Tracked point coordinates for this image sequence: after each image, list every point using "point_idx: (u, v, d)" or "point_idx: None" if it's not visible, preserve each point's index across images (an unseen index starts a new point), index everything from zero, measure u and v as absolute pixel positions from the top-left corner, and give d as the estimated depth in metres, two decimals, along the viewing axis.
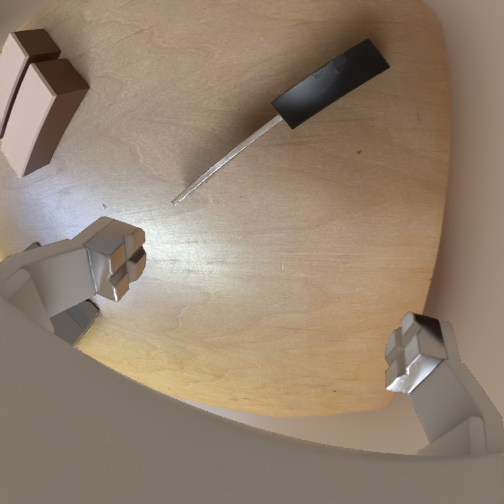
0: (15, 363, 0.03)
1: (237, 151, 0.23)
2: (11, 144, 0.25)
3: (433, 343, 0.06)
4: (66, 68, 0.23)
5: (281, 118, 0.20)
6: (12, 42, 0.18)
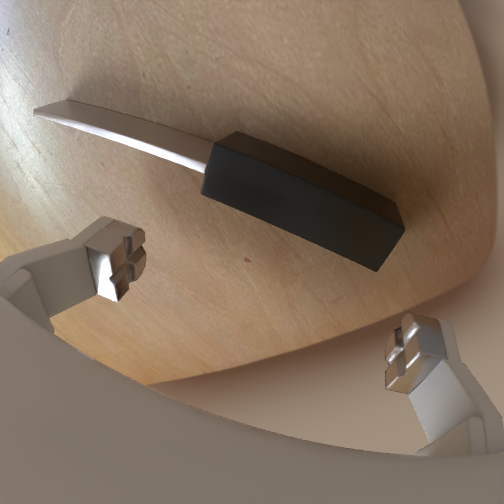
0: (15, 363, 0.03)
1: (124, 142, 0.13)
2: None
3: (433, 343, 0.06)
4: None
5: (203, 171, 0.13)
6: None
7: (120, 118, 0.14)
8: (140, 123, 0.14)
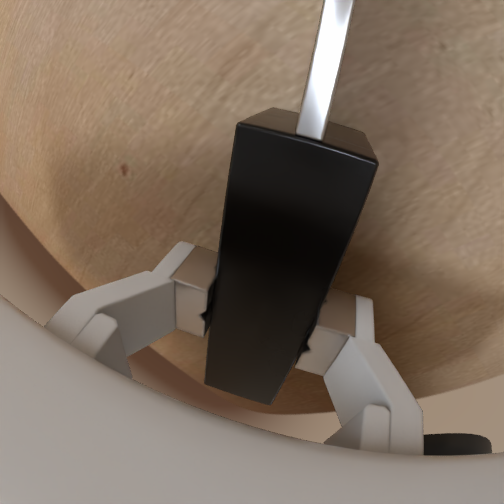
0: (15, 363, 0.03)
1: None
2: None
3: (339, 318, 0.07)
4: None
5: (302, 131, 0.05)
6: None
7: None
8: None
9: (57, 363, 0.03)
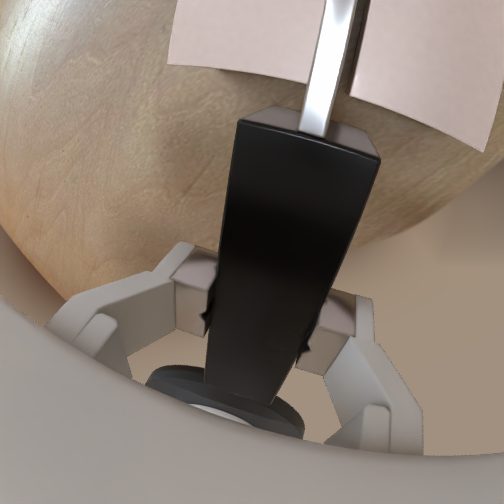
0: (15, 363, 0.03)
1: None
2: None
3: (339, 318, 0.07)
4: None
5: (304, 127, 0.05)
6: (452, 124, 0.09)
7: None
8: None
9: (57, 363, 0.03)
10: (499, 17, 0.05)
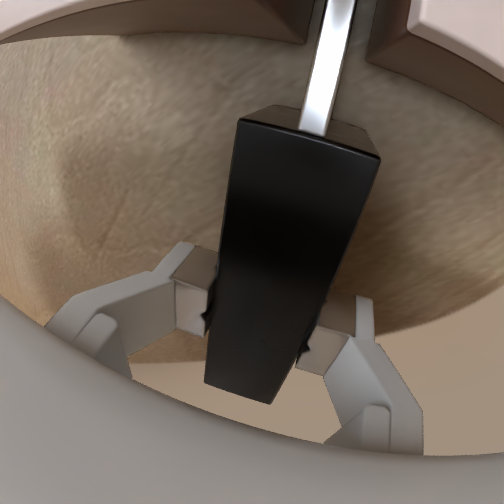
0: (15, 363, 0.03)
1: None
2: None
3: (339, 318, 0.07)
4: (213, 29, 0.06)
5: (304, 126, 0.05)
6: None
7: None
8: None
9: (57, 363, 0.03)
10: None
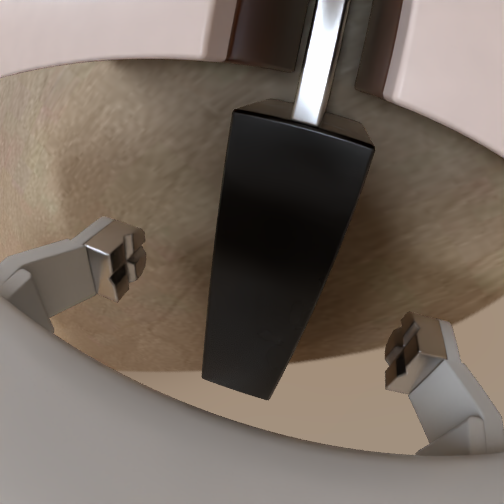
0: (15, 363, 0.03)
1: None
2: None
3: (433, 343, 0.06)
4: None
5: (298, 116, 0.05)
6: None
7: None
8: None
9: (57, 363, 0.03)
10: None
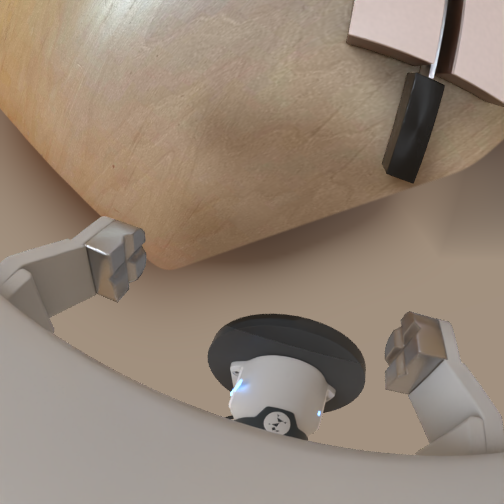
0: (15, 363, 0.03)
1: None
2: None
3: (433, 343, 0.06)
4: (394, 56, 0.18)
5: (429, 76, 0.16)
6: (501, 94, 0.13)
7: None
8: None
9: (57, 363, 0.03)
10: None
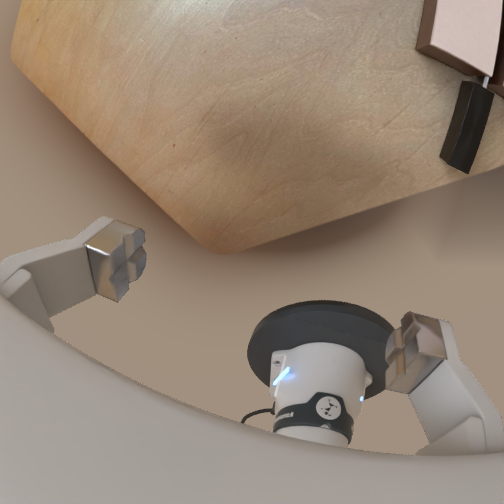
0: (15, 363, 0.03)
1: None
2: None
3: (433, 343, 0.06)
4: (455, 66, 0.18)
5: (483, 86, 0.17)
6: None
7: None
8: None
9: (57, 363, 0.03)
10: None
